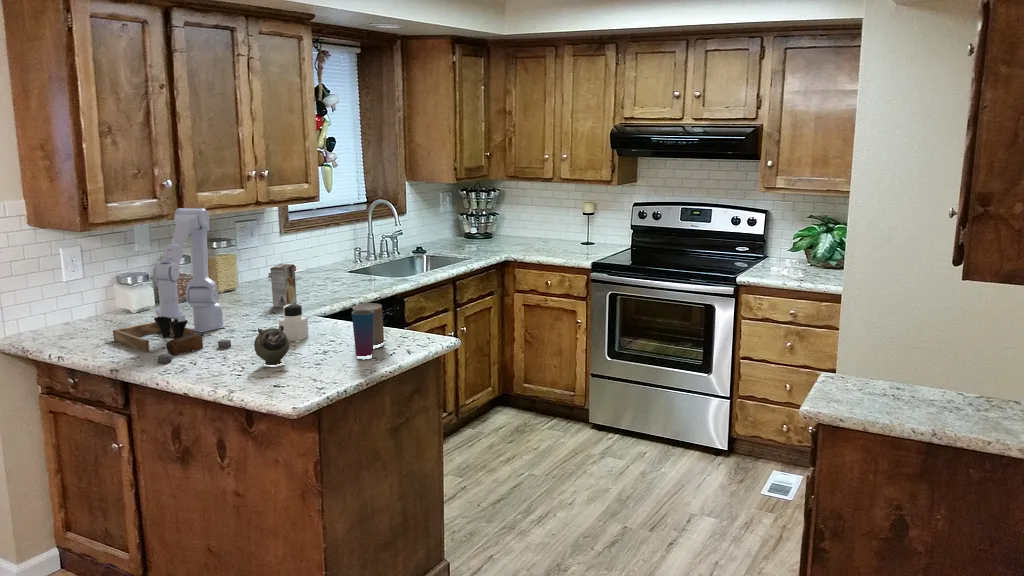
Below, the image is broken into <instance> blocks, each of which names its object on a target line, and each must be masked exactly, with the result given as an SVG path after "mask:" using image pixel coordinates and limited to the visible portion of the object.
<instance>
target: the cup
mask: <svg viewBox="0 0 1024 576" xmlns="http://www.w3.org/2000/svg"><path fill="white" fill-rule="evenodd" d="M373 315H374V312H373V311H372V310H356V311H353V310H352V311H351V319H352V320H351V321H352V330H353V337H354V339H353V340H354V348H355V356H356V355H357V356H367V355H371V354H372V353H374V349H373Z"/></svg>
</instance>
